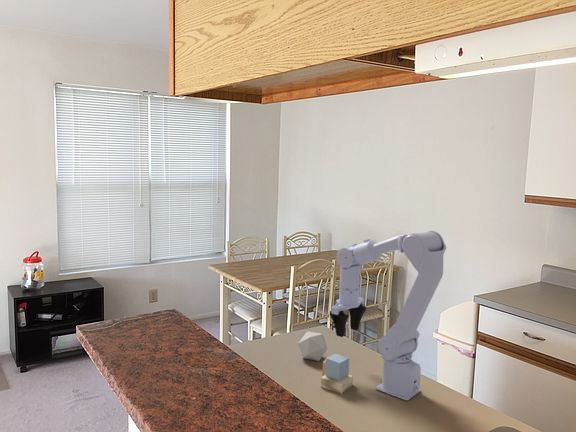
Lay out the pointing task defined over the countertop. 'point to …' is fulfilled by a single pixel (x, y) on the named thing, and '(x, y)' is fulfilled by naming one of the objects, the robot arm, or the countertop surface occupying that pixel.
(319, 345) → the die
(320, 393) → the countertop surface
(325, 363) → the terracotta block
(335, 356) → the blue block
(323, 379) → the beech base
